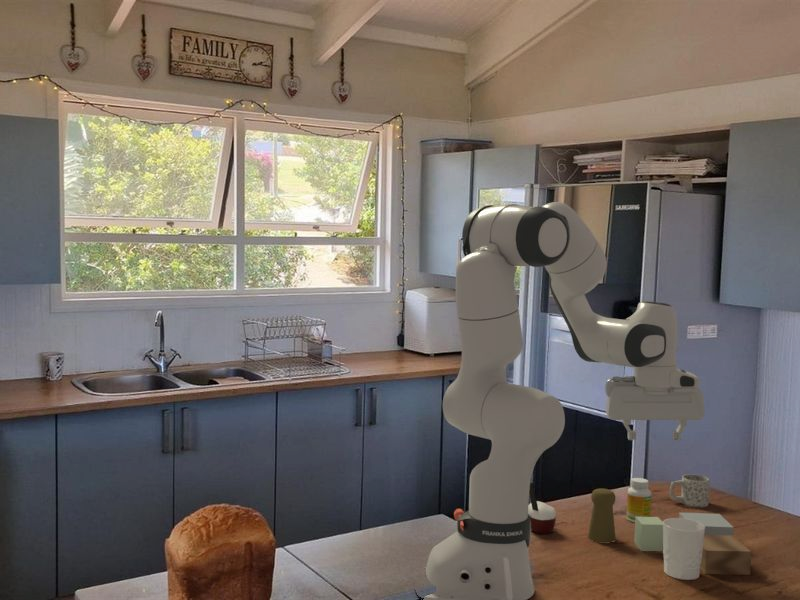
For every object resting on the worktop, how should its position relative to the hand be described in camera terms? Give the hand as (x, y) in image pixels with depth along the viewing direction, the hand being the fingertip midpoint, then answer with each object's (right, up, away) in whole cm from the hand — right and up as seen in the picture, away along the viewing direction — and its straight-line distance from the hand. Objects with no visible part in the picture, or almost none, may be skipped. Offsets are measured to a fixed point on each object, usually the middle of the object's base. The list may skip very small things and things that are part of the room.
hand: (654, 439), depth 176 cm
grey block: (+13, -24, +6) cm, 28 cm away
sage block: (-1, -24, 0) cm, 24 cm away
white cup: (+1, -25, -13) cm, 28 cm away
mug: (+19, -22, +33) cm, 44 cm away
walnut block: (+10, -25, -9) cm, 28 cm away
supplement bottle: (+2, -23, +18) cm, 29 cm away
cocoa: (-23, -23, +9) cm, 34 cm away
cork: (-10, -23, +5) cm, 26 cm away
